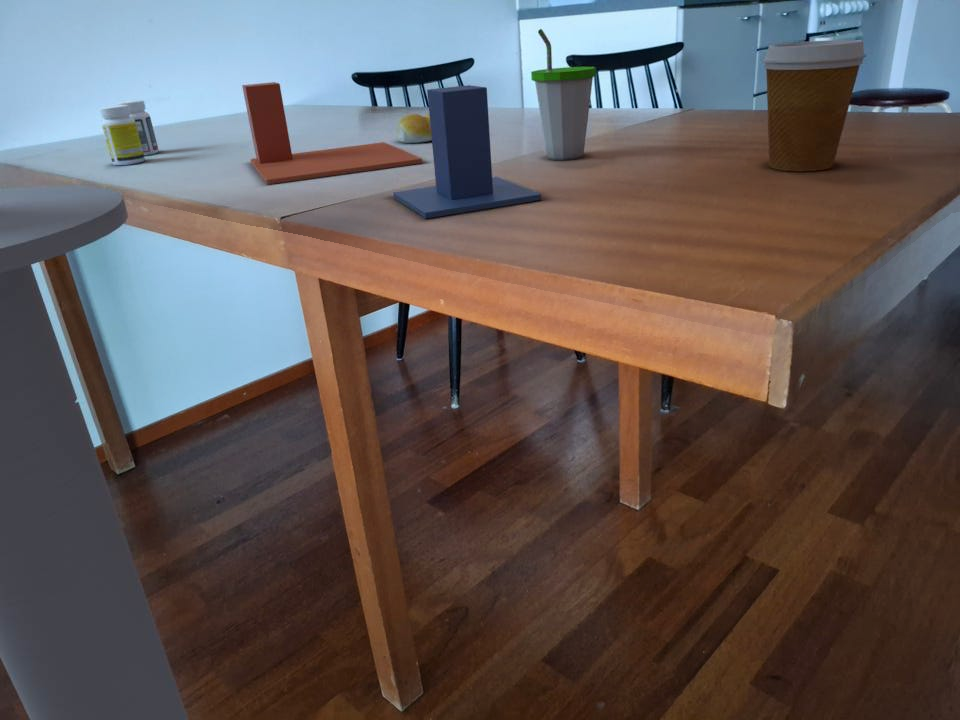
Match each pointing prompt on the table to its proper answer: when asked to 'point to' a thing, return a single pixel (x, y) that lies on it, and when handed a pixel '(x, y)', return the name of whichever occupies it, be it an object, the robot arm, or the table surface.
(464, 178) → the blue block
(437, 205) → the blue mat
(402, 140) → the bread roll
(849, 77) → the disposable coffee cup
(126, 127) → the supplement bottle
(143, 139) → the pill bottle
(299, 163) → the red mat
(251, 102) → the red block
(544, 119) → the cup
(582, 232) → the table surface
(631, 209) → the table surface
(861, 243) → the table surface
